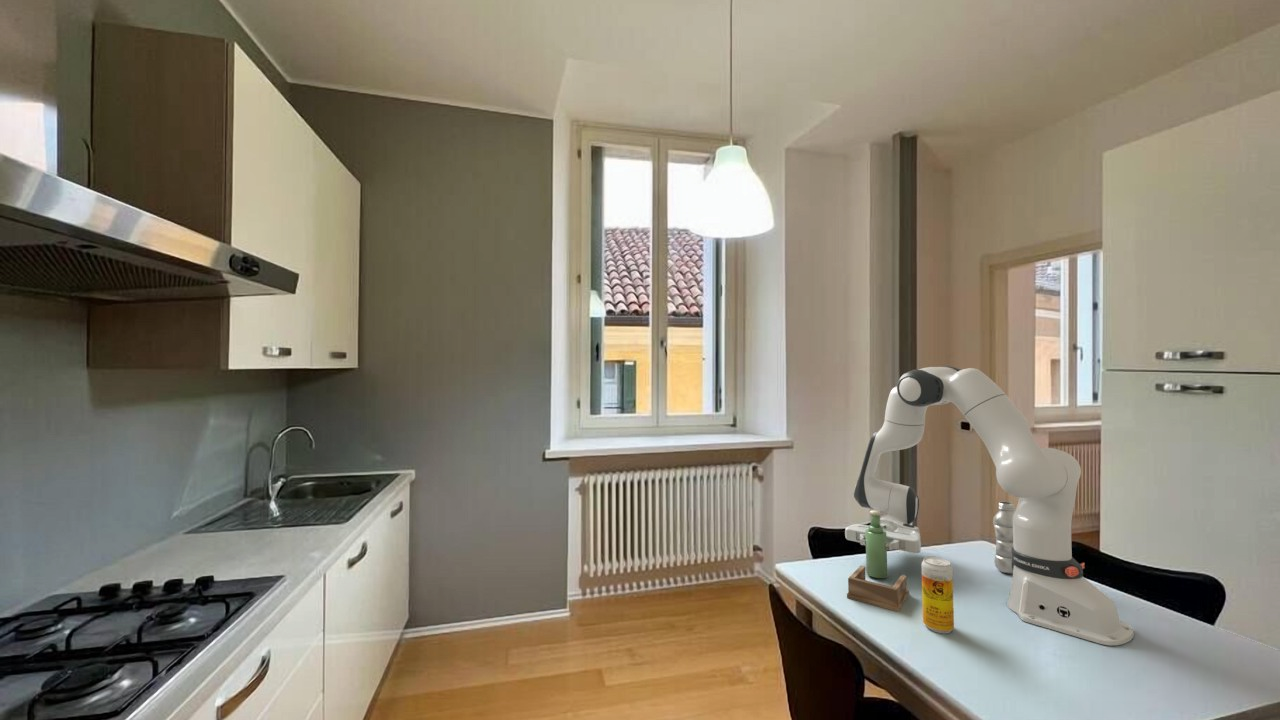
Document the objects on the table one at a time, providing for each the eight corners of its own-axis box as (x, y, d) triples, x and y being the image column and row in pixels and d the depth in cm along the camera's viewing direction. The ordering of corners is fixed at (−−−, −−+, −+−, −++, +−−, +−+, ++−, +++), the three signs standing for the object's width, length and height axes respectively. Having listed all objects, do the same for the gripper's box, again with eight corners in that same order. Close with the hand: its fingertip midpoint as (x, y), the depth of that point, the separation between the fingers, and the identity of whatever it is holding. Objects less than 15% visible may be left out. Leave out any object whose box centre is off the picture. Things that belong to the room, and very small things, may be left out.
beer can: (925, 631, 111) (924, 564, 112) (920, 619, 117) (919, 555, 118) (957, 636, 109) (955, 567, 110) (950, 623, 115) (948, 558, 116)
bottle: (891, 575, 141) (889, 512, 141) (879, 579, 138) (877, 515, 139) (874, 569, 146) (872, 507, 146) (862, 573, 143) (860, 510, 143)
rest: (860, 582, 138) (860, 564, 138) (908, 594, 130) (908, 575, 130) (847, 597, 129) (846, 578, 129) (897, 611, 121) (897, 590, 121)
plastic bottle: (1028, 577, 141) (1026, 506, 141) (1004, 577, 141) (1002, 506, 141) (1012, 568, 147) (1010, 500, 148) (989, 568, 147) (987, 500, 148)
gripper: (852, 516, 159) (837, 526, 148) (924, 528, 146) (914, 540, 135) (852, 536, 159) (838, 548, 148) (925, 550, 145) (915, 564, 135)
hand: (875, 544), depth 141 cm, fingers closed on bottle, 5 cm apart
